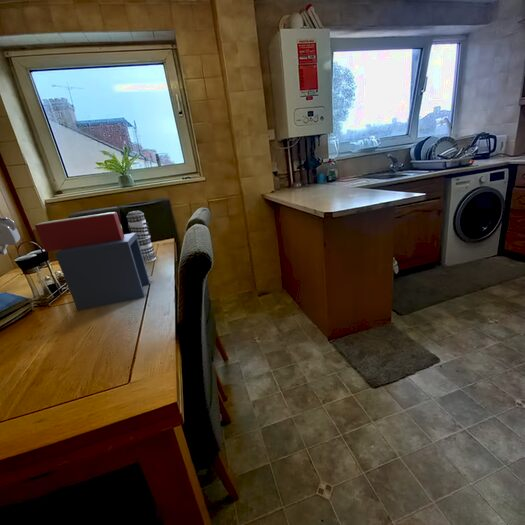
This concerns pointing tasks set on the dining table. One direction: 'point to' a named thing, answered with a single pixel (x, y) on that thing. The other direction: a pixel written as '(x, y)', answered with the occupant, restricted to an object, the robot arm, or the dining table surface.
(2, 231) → the robot arm
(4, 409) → the dining table surface
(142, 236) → the leaning tower model
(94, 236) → the book
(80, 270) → the shelf
